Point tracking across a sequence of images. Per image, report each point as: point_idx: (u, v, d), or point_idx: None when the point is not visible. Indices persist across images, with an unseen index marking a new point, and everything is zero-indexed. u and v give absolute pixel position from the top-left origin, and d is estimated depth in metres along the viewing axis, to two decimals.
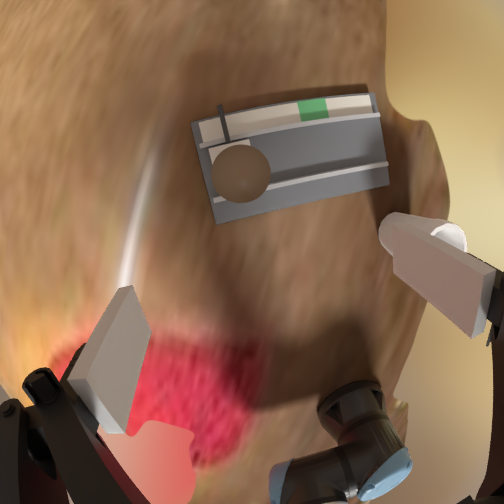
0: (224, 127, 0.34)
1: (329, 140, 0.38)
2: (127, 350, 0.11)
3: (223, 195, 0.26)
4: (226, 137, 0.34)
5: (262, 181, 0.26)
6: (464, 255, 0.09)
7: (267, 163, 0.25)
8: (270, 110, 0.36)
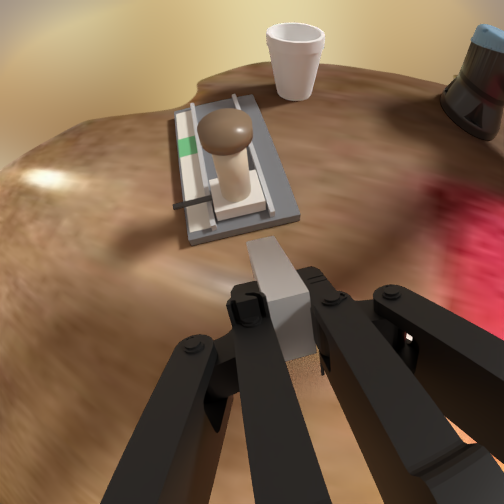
0: (195, 200, 0.36)
1: None
2: None
3: (243, 134, 0.26)
4: (205, 198, 0.36)
5: (232, 112, 0.27)
6: (291, 273, 0.11)
7: (216, 110, 0.27)
8: (185, 175, 0.40)
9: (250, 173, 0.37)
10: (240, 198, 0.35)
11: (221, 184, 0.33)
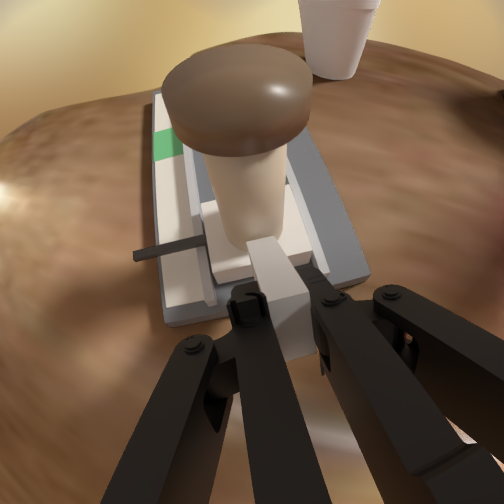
0: (174, 245, 0.19)
1: None
2: None
3: (294, 96, 0.08)
4: (194, 241, 0.19)
5: (255, 50, 0.10)
6: (291, 273, 0.11)
7: (215, 49, 0.10)
8: (161, 193, 0.23)
9: None
10: None
11: (225, 219, 0.16)
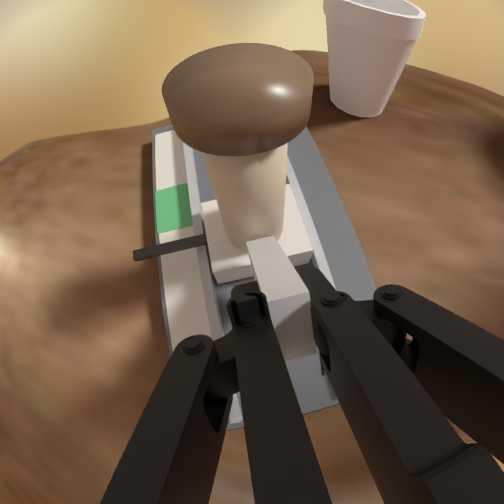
0: (174, 245, 0.18)
1: None
2: None
3: (295, 96, 0.08)
4: (194, 241, 0.18)
5: (256, 49, 0.10)
6: (291, 273, 0.11)
7: (216, 48, 0.10)
8: (169, 279, 0.20)
9: None
10: None
11: (225, 219, 0.15)
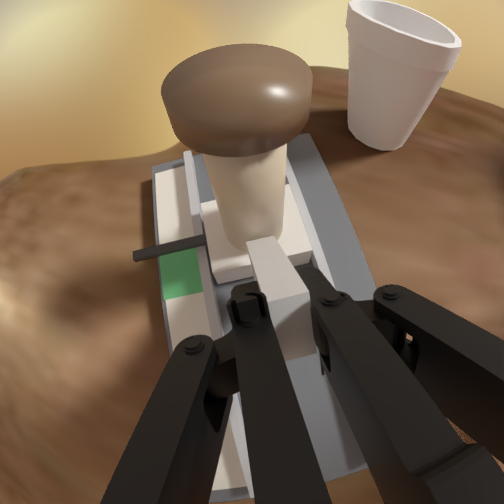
0: (174, 245, 0.19)
1: None
2: None
3: (294, 96, 0.08)
4: (194, 241, 0.19)
5: (255, 50, 0.10)
6: (291, 273, 0.11)
7: (215, 48, 0.10)
8: None
9: None
10: None
11: (225, 219, 0.16)
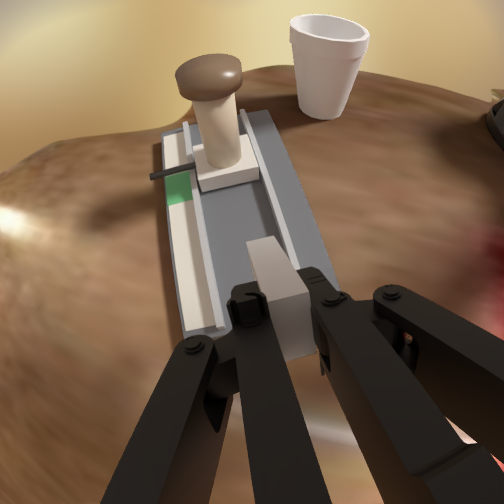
0: (176, 168, 0.29)
1: None
2: None
3: (230, 75, 0.19)
4: (188, 166, 0.29)
5: (218, 56, 0.21)
6: (291, 273, 0.11)
7: (199, 56, 0.21)
8: (176, 235, 0.28)
9: (241, 138, 0.30)
10: (228, 163, 0.28)
11: (205, 145, 0.27)
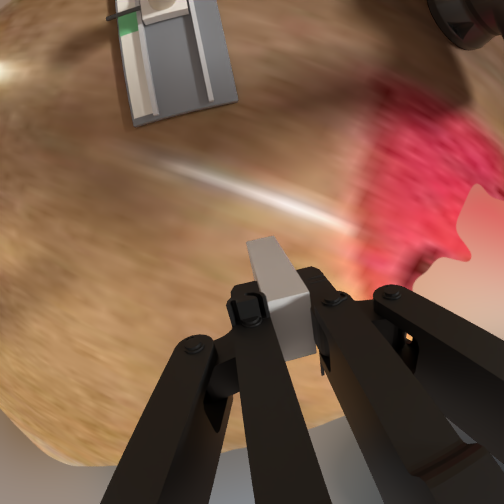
0: (126, 11, 0.27)
1: None
2: None
3: None
4: (135, 8, 0.27)
5: None
6: (291, 273, 0.11)
7: None
8: (126, 57, 0.31)
9: None
10: (165, 7, 0.27)
11: None
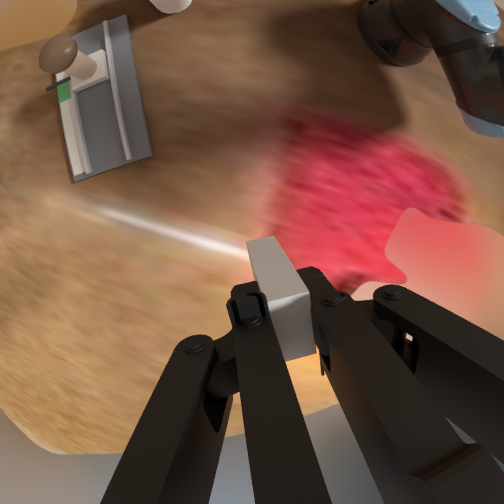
0: (60, 82, 0.34)
1: None
2: None
3: (65, 60, 0.24)
4: (66, 79, 0.34)
5: (61, 38, 0.23)
6: (291, 273, 0.11)
7: (51, 38, 0.23)
8: (65, 122, 0.38)
9: (98, 53, 0.33)
10: (87, 77, 0.34)
11: None
